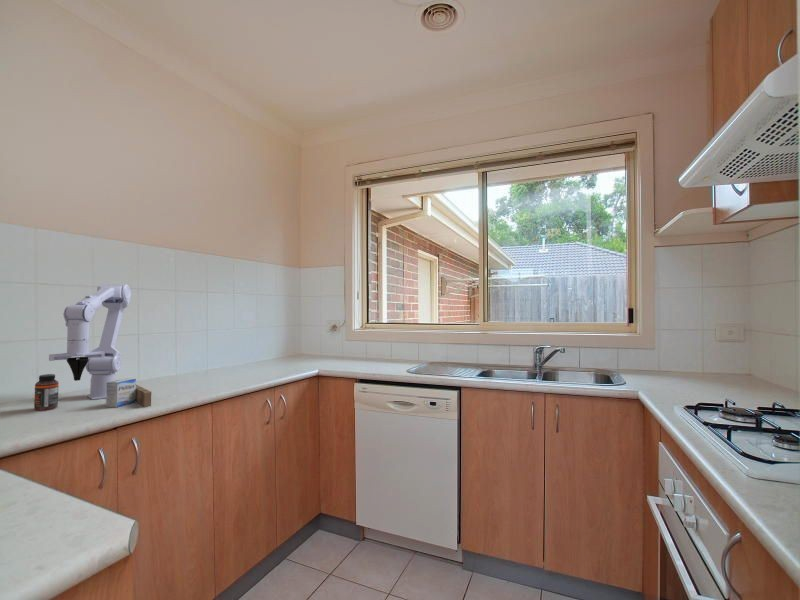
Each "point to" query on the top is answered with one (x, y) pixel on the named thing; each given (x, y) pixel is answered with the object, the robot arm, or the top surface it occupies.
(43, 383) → the supplement bottle
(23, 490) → the top surface
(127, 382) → the medicine box
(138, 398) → the walnut board
